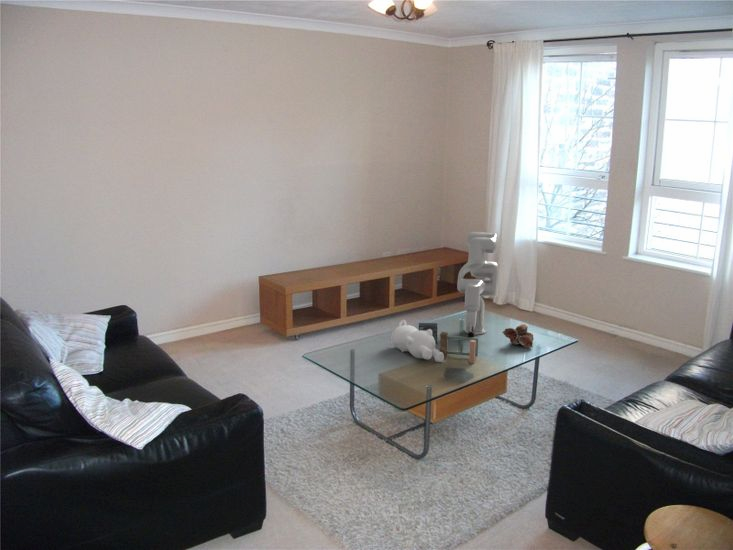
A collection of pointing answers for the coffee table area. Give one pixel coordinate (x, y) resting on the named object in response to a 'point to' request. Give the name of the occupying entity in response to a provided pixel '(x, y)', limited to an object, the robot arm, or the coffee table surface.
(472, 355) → the post
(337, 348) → the coffee table surface
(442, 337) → the gate post
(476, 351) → the gate
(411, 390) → the coffee table surface
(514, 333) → the seed pod
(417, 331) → the teddy bear
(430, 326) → the small box
